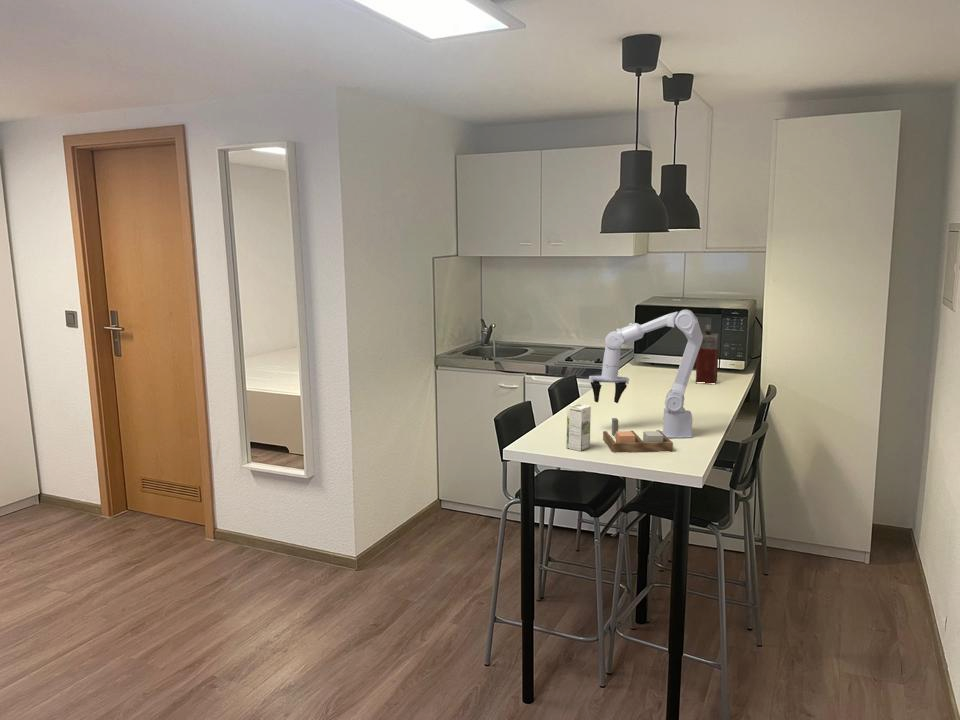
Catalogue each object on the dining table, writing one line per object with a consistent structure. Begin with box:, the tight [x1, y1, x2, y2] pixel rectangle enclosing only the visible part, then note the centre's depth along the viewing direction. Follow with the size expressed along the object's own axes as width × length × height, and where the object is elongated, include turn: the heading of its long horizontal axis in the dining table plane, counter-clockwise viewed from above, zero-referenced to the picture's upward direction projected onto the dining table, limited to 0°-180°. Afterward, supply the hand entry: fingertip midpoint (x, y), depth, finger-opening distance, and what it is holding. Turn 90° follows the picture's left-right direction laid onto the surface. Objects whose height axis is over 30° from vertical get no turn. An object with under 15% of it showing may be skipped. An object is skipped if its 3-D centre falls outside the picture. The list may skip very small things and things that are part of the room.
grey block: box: [642, 430, 663, 442], centre depth 242 cm, size 5×6×5 cm
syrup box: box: [566, 403, 592, 452], centre depth 241 cm, size 6×6×14 cm
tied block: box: [611, 417, 635, 443], centre depth 249 cm, size 5×20×6 cm, turn 2°
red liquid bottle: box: [693, 324, 720, 384], centre depth 351 cm, size 9×11×28 cm
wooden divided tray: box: [602, 429, 674, 453], centre depth 245 cm, size 20×16×3 cm
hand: (606, 402), depth 262 cm, fingers open, 7 cm apart
